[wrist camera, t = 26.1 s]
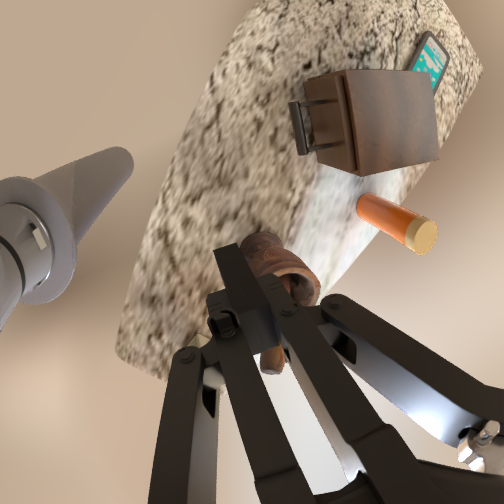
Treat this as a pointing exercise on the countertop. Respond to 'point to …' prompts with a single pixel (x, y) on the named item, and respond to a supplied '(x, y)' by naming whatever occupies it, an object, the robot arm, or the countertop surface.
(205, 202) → the countertop surface
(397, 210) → the spice jar
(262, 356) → the mortar and pestle
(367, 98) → the cabinet
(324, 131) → the drawer
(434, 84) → the smartphone
